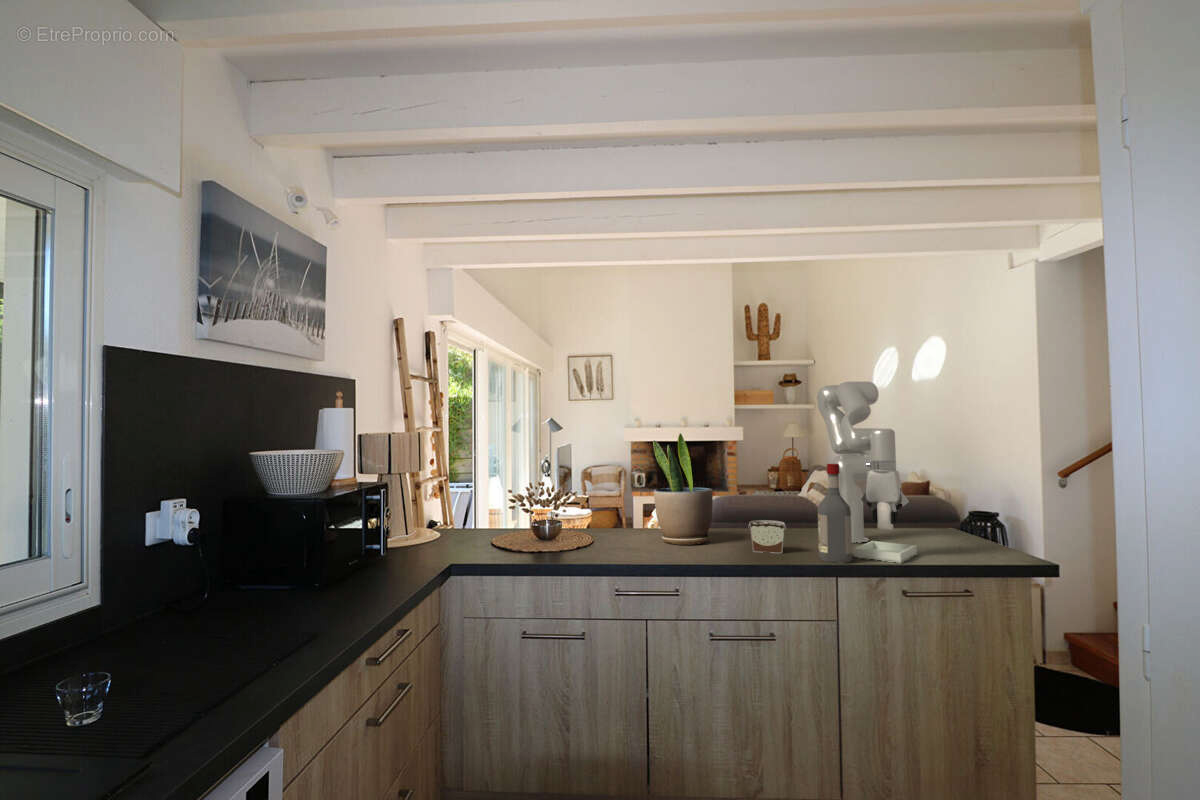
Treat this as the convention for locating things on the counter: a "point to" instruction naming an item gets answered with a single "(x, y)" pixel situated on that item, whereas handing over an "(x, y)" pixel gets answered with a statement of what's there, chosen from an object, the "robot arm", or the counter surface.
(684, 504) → the potted plant
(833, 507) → the liquor
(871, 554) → the tray
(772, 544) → the food container
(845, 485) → the robot arm
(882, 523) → the shaker
